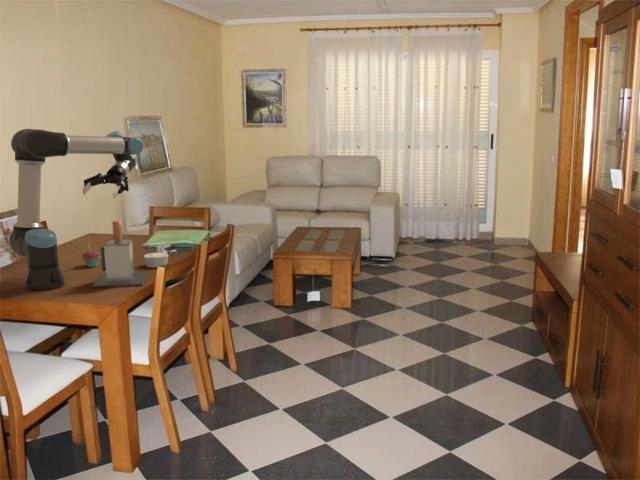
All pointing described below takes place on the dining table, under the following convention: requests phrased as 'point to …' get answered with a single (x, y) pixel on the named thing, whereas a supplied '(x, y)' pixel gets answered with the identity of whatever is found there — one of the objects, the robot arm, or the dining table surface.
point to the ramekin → (156, 259)
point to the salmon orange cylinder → (117, 231)
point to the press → (118, 266)
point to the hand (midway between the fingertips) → (98, 193)
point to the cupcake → (91, 257)
